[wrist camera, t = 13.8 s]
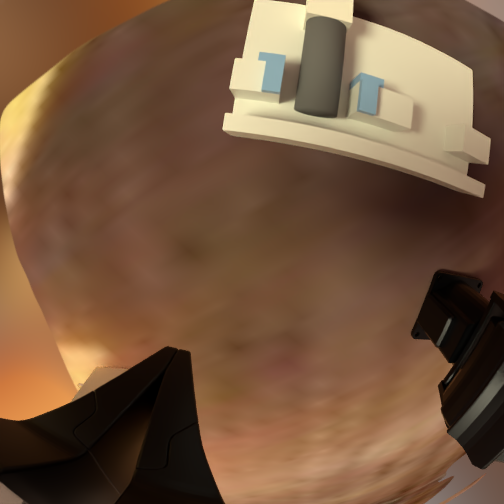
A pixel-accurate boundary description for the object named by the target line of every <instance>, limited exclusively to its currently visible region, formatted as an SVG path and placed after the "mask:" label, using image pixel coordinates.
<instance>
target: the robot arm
mask: <svg viewBox="0 0 504 504" xmlns="http://www.w3.org/2000/svg"><path fill="white" fill-rule="evenodd" d="M439 276H440V278H439V279H438V277H439ZM482 284H483V282H482V281H481V280H480V279H477V278H472V277H467V276H462V275H457V274H452V273H447V272H442V271H437V272H436V273H435V274H434V276H433V279H432V282H431V285H430V288H429V290H428V293H427V296H426V298H425V301H424V303H423V306H422V308H421V311H420V313H419V315H418V318H417V320H416V322H415V325H414V327H413V329H412V331H411V336H412V337H413V339H426V340H431V341H432V342H433V344H434V345H435V347H437V348H438V349H439V350H440V351H441V353H442V354H443V356H444V357H445V358H446V360H447V361H448V363H452V364H453V367H452V368H451V370H450V371H449V373H448V374H447V375H446V377H445V378H444V380H442V381H441V382H440V383H439V385H438V389H439V393H440V398H441V404H442V407H441V413H442V415H443V418H444V420H445V424H446V426H447V428H448V430H447V433H448V434H449V435H451V436H452V437H453V438H454V439H456V440H457V441H458V442H459V444H460V445H461V446H462V447H463V449H464V450H465V452H466V453H467V455H468V457H469V459H470V461H471V463H472V464H473V465H474V466H476V467H478V468H480V469H486V468H487V467H488V466H489V465H490V464H491V463H493V462H494V461H498V462H504V294H501V293H499V292H496V291H493V293H492V295H491V297H490V298H491V300H490V302H489V301H488V300H487V299H486V298H484V297H483V296H482V295H481V294H479V293H480V290H481V288H482ZM416 333H417V334H416ZM94 391H95V392H94ZM94 391H91V392H89V393H88V394H86V395H84V396H82V397H80V398H78V399H76V400H75V401H73V402H70V403H68V404H66V405H64V406H61V407H59V408H57V409H54V410H52V411H50V412H47V413H44V414H42V415H39V416H37V417H34V418H31V419H27V420H21V421H15V420H8V419H3V418H0V504H225V503H224V501H223V499H222V497H221V494H220V492H219V490H218V487H217V485H216V482H215V480H214V477H213V475H212V472H211V470H210V467H209V464H208V462H207V459H206V455H205V452H204V449H203V446H202V441H201V436H200V430H199V424H198V416H197V408H196V400H195V392H194V383H193V373H192V363H191V353H190V351H186V350H182V349H179V350H178V349H177V348H173V347H169V346H166V347H164V348H163V349H161V350H160V351H158V352H156V353H155V354H153V355H151V356H150V357H148V358H147V359H145V360H143V361H142V362H140V363H138V364H137V365H135V366H133V367H132V368H130V369H128V370H127V371H125V372H123V373H122V374H120V375H118V376H117V377H115V378H113V379H112V380H110V381H108V382H107V383H105V384H103V385H102V386H100V387H98V388H96V389H95V390H94Z"/></svg>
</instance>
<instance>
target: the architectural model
mask: <svg viewBox="0 0 504 504" xmlns="http://www.w3.org/2000/svg"><path fill="white" fill-rule="evenodd" d="M127 370H128V369H122V368H106V367H96V368H95V370H94V371H93V372H92V374H91V375H90V376H89V378H88V379H87V380H86V382H85V383H84V384H80V383H79V384H78V387H79V388H80V390H79V391H78V393H77V394H76V395H75V397H74V398H73V400H72V401H71V402H73V401H75V400H76V399H78V398H80V397H82V396H84V395H86V394H88V393H89V392H91V391H94V390H95V389H96V388H98V387H100V386H102V385H103V384H105V383H107V382H108V381H110V380H112V379H113V378H115V377H117V376H118V375H120V374H122V373H123V372H125V371H127ZM94 392H95V391H94Z"/></svg>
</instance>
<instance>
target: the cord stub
mask: <svg viewBox="0 0 504 504" xmlns="http://www.w3.org/2000/svg"><path fill="white" fill-rule="evenodd" d="M352 20H353V0H307V2H306V10H305V17H304V25H303V30H305V35H304V42H303V50H302V57H301V64H300V71H299V78H298V85H297V91H296V98H295V105H294V110H295V111H297V112H300V113H302V114H306V115H310V116H315V117H321V118H336V117H337V114H338V106H339V99H340V90H341V82H342V73H343V63H344V53H345V42H346V33H347V31H348V30H349V28H350V26H351V25H352Z"/></svg>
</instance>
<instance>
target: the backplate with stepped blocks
mask: <svg viewBox="0 0 504 504" xmlns="http://www.w3.org/2000/svg"><path fill="white" fill-rule="evenodd" d="M305 10H306V5H300V4H294V3H287V2H279V1H270V0H254V5H253V9H252V14H251V19H250V23H249V28H248V33H247V38H246V43H245V48H244V53H243V58H242V59H240V58H235V61H234V67H233V72H232V77H231V83H230V88H229V89H230V90H231V92H232V94H233V95H234V97H235V102H234V108H233V114H231V113H225V117H224V123H223V131H225V132H226V133H228V134H229V135H231V136H237V137H245V138H252V139H259V140H266V141H272V142H278V143H284V144H290V145H295V146H301V147H306V148H311V149H316V150H320V151H325V152H329V153H334V154H338V155H342V156H347V157H351V158H355V159H358V160H362V161H366V162H370V163H373V164H377V165H381V166H384V167H387V168H391V169H394V170H397V171H401V172H404V173H407V174H410V175H413V176H416V177H419V178H422V179H425V180H428V181H431V182H433V183H436V184H439V185H442V186H444V187H447V188H449V189H452V190H455V191H457V192H461V193H465V194H469V195H473V196H477V197H480V198H483V196H484V190H485V184H483V183H481V182H479V181H477V180H475V179H473V178H470V177H468V176H467V172H468V164H469V163H477V164H486V165H488V163H489V153H490V141H491V139H490V138H489V137H487V136H485V135H484V134H482V133H480V132H479V131H477V130H475V129H473V128H472V121H473V74H472V69H470V68H468V67H467V66H465V65H463V64H462V63H460V62H458V61H457V60H455V59H453V58H451V57H450V56H448V55H446V54H444V53H442V52H440V51H438V50H436V49H434V48H433V47H430V46H428V45H426V44H424V43H422V42H420V41H418V40H416V39H413V38H411V37H409V36H406V35H404V34H402V33H399V32H397V31H394V30H392V29H389V28H386V27H384V26H381V25H378V24H375V23H372V22H369V21H366V20H363V19H360V18H356V17H353V20H352V25H351V26H350V28H349V30H348V31H347V33H346V42H345V53H344V63H343V73H342V82H341V90H340V99H339V106H338V114H337V117H336V118H321V117H315V116H310V115H306V114H302V113H300V112H297V111H295V110H294V105H295V98H296V91H297V85H298V78H299V71H300V64H301V57H302V50H303V42H304V35H305V30H303V25H304V17H305Z"/></svg>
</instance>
